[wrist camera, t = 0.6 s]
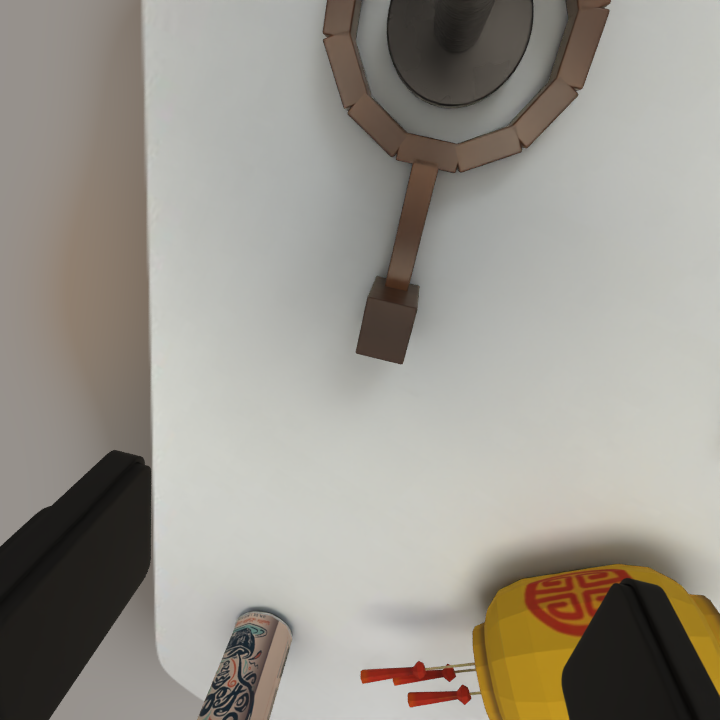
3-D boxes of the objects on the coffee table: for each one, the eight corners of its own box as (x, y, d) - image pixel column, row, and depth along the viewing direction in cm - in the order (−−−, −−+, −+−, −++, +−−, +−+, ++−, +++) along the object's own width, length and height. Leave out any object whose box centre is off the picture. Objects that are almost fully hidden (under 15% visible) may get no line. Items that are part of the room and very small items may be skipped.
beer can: (271, 599, 38) (205, 783, 27) (305, 638, 39) (256, 828, 28) (225, 615, 39) (146, 795, 28) (260, 652, 41) (197, 838, 30)
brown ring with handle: (359, -167, 19) (342, -241, 15) (642, -112, 18) (694, -174, 15) (290, 308, 27) (269, 333, 24) (482, 354, 27) (490, 386, 23)
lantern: (376, 828, 28) (1031, 813, 20) (322, 686, 27) (992, 612, 19) (400, 686, 38) (852, 638, 30) (360, 576, 37) (819, 496, 29)
